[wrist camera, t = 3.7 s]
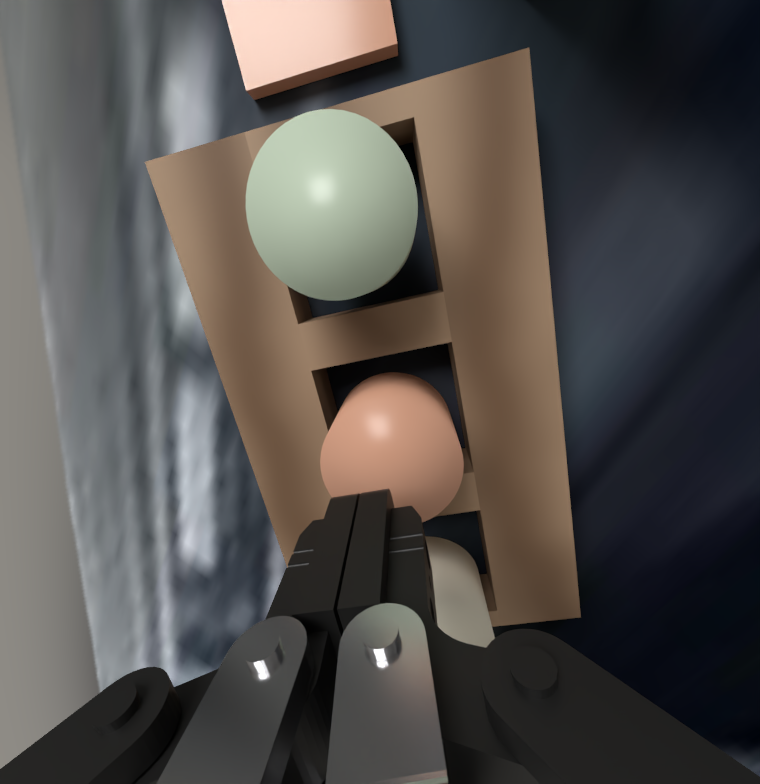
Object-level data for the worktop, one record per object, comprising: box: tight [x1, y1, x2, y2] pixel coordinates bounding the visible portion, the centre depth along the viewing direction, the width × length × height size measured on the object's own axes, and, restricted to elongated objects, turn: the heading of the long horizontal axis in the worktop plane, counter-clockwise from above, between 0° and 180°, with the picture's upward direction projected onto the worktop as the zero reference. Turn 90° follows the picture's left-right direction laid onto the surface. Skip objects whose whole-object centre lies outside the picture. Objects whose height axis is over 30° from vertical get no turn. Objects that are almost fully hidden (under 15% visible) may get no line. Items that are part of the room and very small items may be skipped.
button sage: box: [246, 109, 418, 301], centre depth 12 cm, size 5×5×4 cm
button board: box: [145, 48, 581, 627], centre depth 17 cm, size 14×24×2 cm, turn 13°
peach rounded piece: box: [320, 372, 464, 523], centre depth 14 cm, size 5×5×4 cm
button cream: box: [425, 536, 495, 648], centre depth 16 cm, size 5×5×4 cm
